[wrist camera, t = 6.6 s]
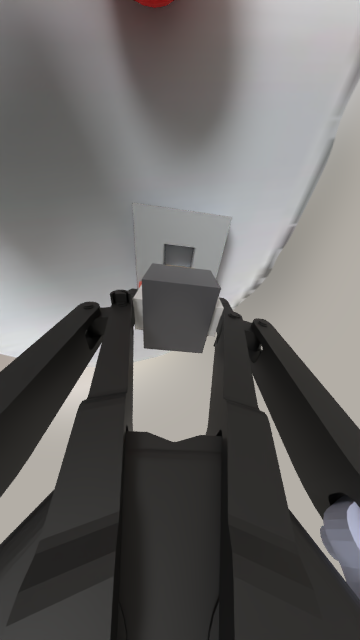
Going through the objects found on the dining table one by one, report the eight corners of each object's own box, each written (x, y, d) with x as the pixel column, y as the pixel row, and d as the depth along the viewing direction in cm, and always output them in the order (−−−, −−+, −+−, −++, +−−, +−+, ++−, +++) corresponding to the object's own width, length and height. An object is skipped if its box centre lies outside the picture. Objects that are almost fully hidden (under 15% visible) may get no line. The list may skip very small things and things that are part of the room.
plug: (159, 252, 16) (141, 279, 9) (203, 257, 17) (220, 288, 9) (157, 300, 20) (144, 348, 12) (194, 303, 20) (202, 353, 13)
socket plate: (137, 204, 22) (130, 202, 19) (226, 217, 23) (233, 217, 20) (141, 289, 30) (136, 297, 27) (207, 296, 31) (210, 305, 28)
